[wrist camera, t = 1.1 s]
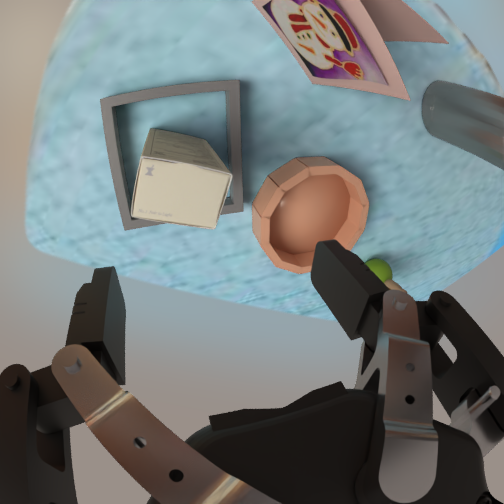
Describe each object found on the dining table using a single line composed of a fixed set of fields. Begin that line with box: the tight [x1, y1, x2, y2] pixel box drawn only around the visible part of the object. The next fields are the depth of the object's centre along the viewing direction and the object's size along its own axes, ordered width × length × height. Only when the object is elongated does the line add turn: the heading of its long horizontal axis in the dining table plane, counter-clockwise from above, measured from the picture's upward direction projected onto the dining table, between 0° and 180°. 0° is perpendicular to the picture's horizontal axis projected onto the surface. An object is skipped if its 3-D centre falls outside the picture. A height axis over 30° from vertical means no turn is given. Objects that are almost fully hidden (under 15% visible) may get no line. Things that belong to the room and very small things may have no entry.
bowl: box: [252, 156, 369, 274], centre depth 34 cm, size 14×14×4 cm
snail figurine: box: [365, 259, 413, 298], centre depth 40 cm, size 5×6×12 cm
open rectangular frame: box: [100, 80, 243, 230], centre depth 27 cm, size 13×14×2 cm
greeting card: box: [252, 0, 449, 101], centre depth 17 cm, size 11×7×15 cm, turn 37°
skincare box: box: [131, 128, 233, 229], centre depth 23 cm, size 6×4×12 cm
